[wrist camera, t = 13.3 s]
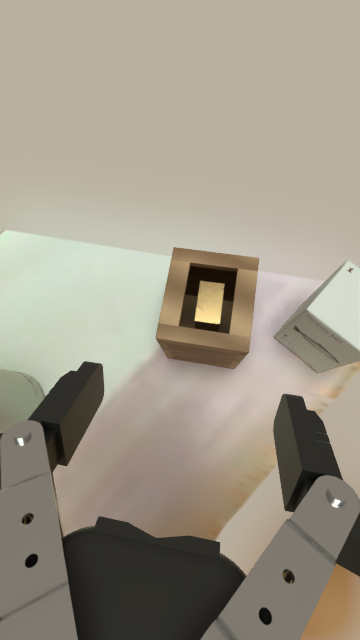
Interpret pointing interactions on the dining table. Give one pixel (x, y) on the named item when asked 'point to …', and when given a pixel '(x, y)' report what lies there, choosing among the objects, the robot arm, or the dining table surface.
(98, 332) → the dining table surface
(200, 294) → the gold rectangular block
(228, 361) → the brown wooden bin
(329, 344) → the supplement box
